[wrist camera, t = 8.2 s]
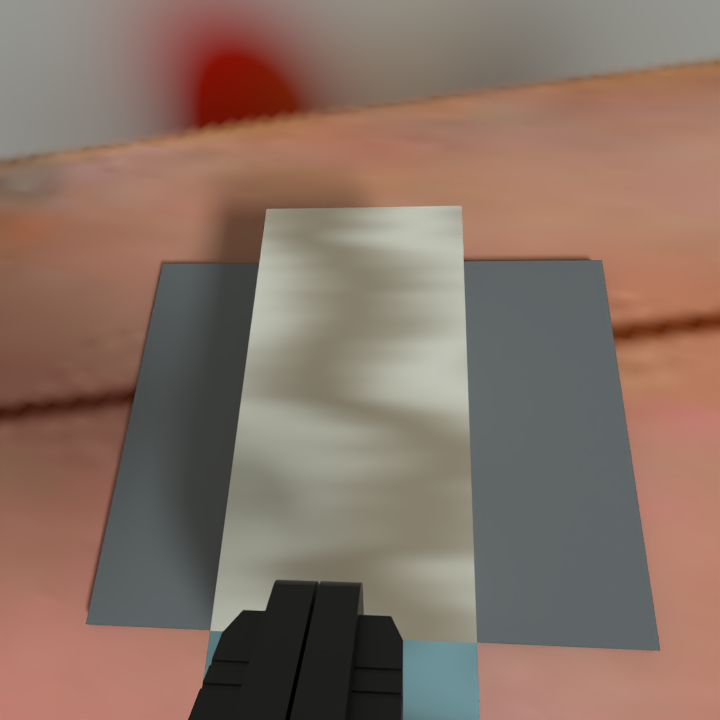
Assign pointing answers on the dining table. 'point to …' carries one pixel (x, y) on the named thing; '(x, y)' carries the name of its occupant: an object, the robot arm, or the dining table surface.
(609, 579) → the mat
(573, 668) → the dining table surface
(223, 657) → the robot arm
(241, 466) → the block
